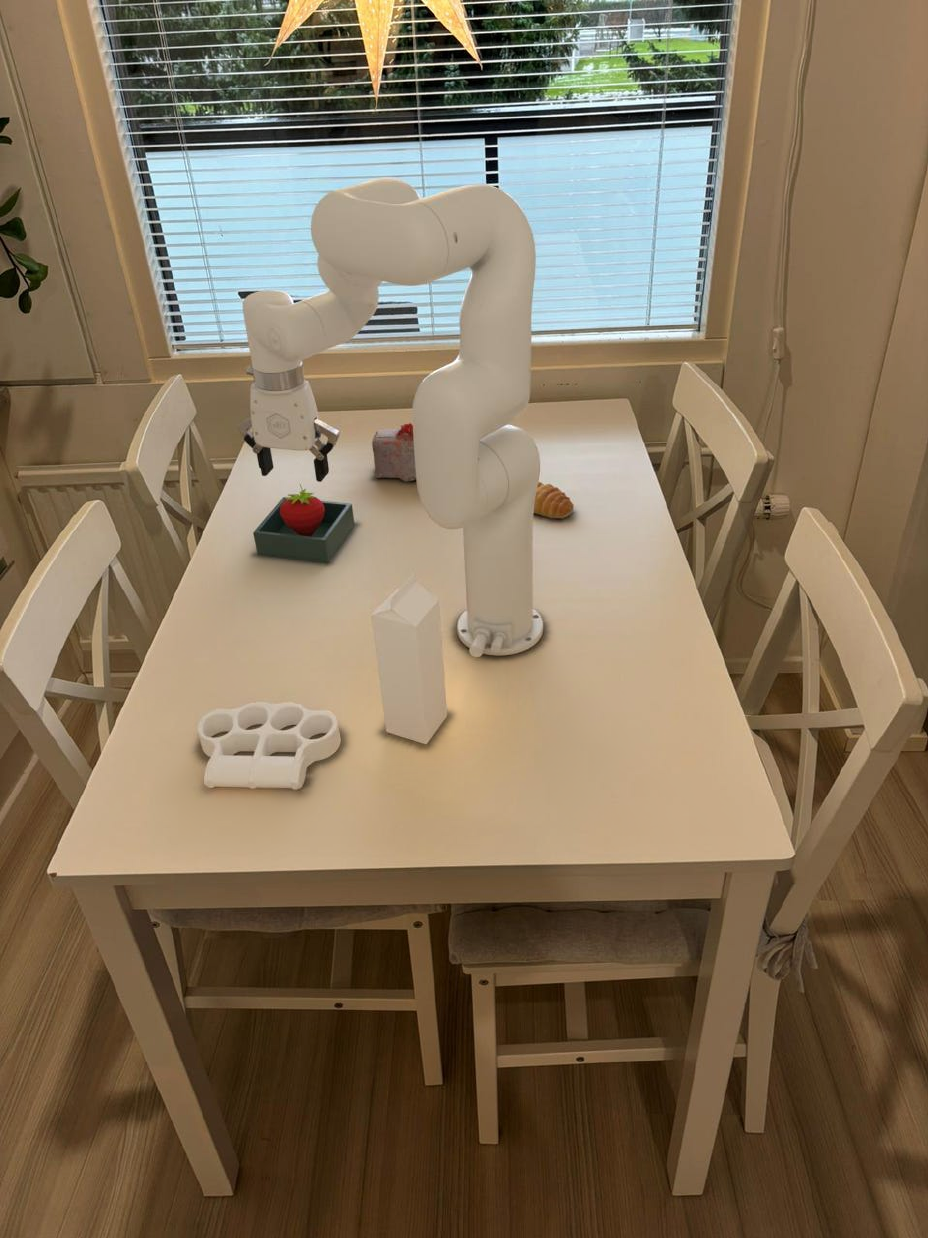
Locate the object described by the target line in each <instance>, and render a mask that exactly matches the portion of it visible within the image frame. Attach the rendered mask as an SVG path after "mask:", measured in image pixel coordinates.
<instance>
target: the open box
mask: <svg viewBox="0 0 928 1238" xmlns="http://www.w3.org/2000/svg"><path fill="white" fill-rule="evenodd" d="M289 497H290V496H288V497H287V496H283V497H282V498H281V499H280V500H279V502H278V503H277V504H276V505H275V506H274V507H273V508H272V510H271V511H270V512H269V513H268V514H267V516H265V518H264V519H263V520H262V521H261V523H260V524H259V525H258V526H257V527H256V528H255V530H254V531H252V534H253V538H254V544H255V548H256V553H257V555H258V556H265V557H274V558H281V559H289V560H291V559H292V560H299V561H309V562H317V563H318V562H319V563H327V564H329V563H330V562H331V560H332V559H333V557H334V556H335V554H336V553H337V552H338V551H339V549H340V547H341V546H342V544H343V543H344V542H345V540H346V539H347V537H348V536H349V534H350V533H351V532H352V530H353V528H355V525H356V524H355V517H354V511H353V510H354V509H353V503H350V502H341V501H331V500H321V501H322V503H323V505H324V508H325V510H324V516H323V520H322V521H321V523H320V525H319V527H318V528H317V529H316V531H315V532H314V533H313V534H312V536H311V537H310V536H301V535H299V534H297V533H296V532H294V531H293V530H292V529H291V528H290V527H289V526H287V525H286V524H285V522H284V521H283V519H282V517H281V515H280V506H281V505H282V504H283V503H284V501H285V499H286V498H289Z"/></svg>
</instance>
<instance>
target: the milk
mask: <svg viewBox="0 0 928 1238" xmlns="http://www.w3.org/2000/svg"><path fill="white" fill-rule="evenodd" d="M440 611H441V609H440V599H439V598H438V597H436V595H434V594H432V592H430V591H429V590H428V589H426V588H425V587H423V586H422V585H420V584H419V583H418V581H417V574H416V573H415V572H413V573H412V574H411V575H410V576H409V577H408V579H407V580H406V581H405V582H404V583H402V585H401V586H400V587H397V588H395V589H394V591H392V592H391V593H390V594H389V596H388V597H387V598H386V599H385V600H384V601H383V602H382V603H381V604H379V606H378V608H376V610H374V612H373V613H372V614H371V621H372V630H373V638H374V645H375V653H376V661H377V669H378V677H379V684H380V693H381V700H382V709H383V717H384V726H385V731H386V733H387V734H391V735H394V736H397V737H401V738H404V739H406V740H411V741H413V742H416V743H420V744H422V745H428V743H429V742H430V740H431V739H433V736H434V735H435V734H436V732H437V731H438V730H439V729H440V727H441V726H442V725H443V723H444V721H445V720H446V719H447V717H448V708H447V707H448V705H447V694H446V692H447V691H446V679H445V666H444V665H445V664H444V653H443V641H442V640H443V639H442V637H443V636H442V624H441V612H440Z"/></svg>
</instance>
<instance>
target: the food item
mask: <svg viewBox="0 0 928 1238" xmlns="http://www.w3.org/2000/svg"><path fill="white" fill-rule="evenodd" d="M371 445H372V452H373V462H374V469H375V471H374V472H375V473H374V474H375V478H376V479H381V478H386V479H387V478H389V479H400V480H401V481H403V482H412V481H415V480H416V468H415V453H414V438H413V423H411V422H409V423H405V424H402V425H400V429H393V428H389V429H387V428H380V429H378V430H377V431H376V432H375V434H374V435H373V437H372V441H371Z"/></svg>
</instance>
